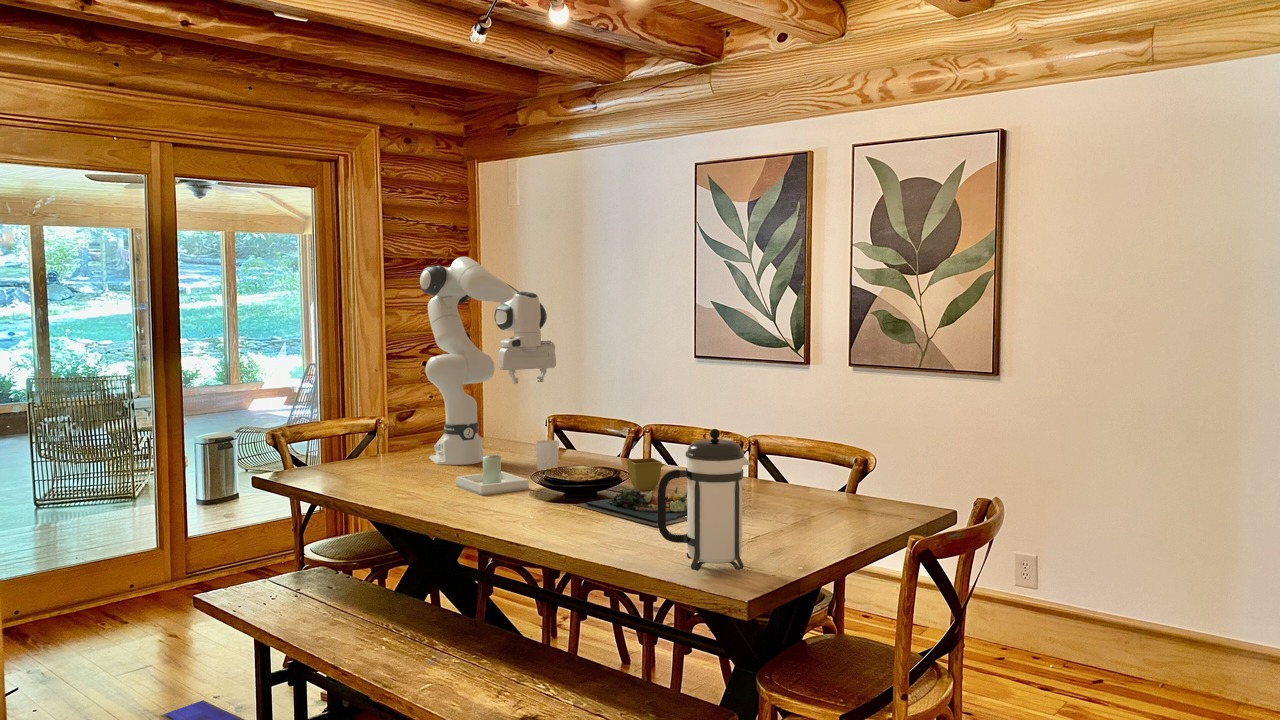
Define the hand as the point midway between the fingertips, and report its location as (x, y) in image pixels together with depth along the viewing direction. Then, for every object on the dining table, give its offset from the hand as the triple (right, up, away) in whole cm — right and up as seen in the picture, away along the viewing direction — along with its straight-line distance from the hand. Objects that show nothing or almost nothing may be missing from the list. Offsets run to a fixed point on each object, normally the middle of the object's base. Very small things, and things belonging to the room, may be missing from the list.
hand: (527, 382), depth 311 cm
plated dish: (+40, -35, -46) cm, 70 cm away
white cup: (+5, -31, +12) cm, 33 cm away
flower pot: (+38, -33, -21) cm, 55 cm away
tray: (-9, -32, -18) cm, 38 cm away
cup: (-9, -32, -18) cm, 37 cm away
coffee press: (+52, -38, -104) cm, 123 cm away
